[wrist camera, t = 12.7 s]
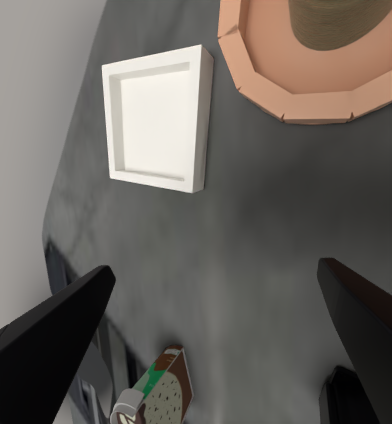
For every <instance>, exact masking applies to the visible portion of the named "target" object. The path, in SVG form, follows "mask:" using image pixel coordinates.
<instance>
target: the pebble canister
mask: <svg viewBox="0 0 392 424" xmlns="http://www.w3.org/2000/svg"><path fill="white" fill-rule="evenodd" d="M288 5H289V15H290V24H291V28H292V31H293V34H294V36H295V37H296V39H297V40H298V41H299V42H300V43H301V44H302V45H304V46H305V47H307V48H309V49H312V50H316V51H330V50H335V49H339V48H342V47H345V46H347V45H349V44H351V43H353V42H355V41H357V40H359V39H360V38H362V37H363V36H365V35H366V34H368V33H369V32H370V31H371V30H373V29H374V28H375V27H376V26H377V25H378V24H379V23H380V22H381V21H382V20H383V19H384V18H385V17H386V16H387V15H388V14H389V12H390V11H391V10H392V0H288Z"/></svg>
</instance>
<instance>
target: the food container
mask: <svg viewBox="0 0 392 424" xmlns="http://www.w3.org/2000/svg"><path fill="white" fill-rule="evenodd" d="M193 397H194V392H193V388H192V383H191V379H190V374H189V370H188V365H187V361H186V356H185V352H184V347H182V346H179V345H171V346H169V347H167V348H166V349H165V350H164V351H163V353H162V354H161V355H160V356H159V357H158V359H157V360H156V361H155V362H154V363H153V364H152V366H151V367H150V368H149V369H148V370H147V372H146V373H145V374H144V375H143V376H142V377H141V379H140V380H139V381H138V382H137V383H136V384H135V386H134V387H133V388H132V389H126V390H124V391H123V392H122V393H121V395H120V397H119V399H118V401H117V402H116V404H115V406H114V409H113V413H112V414H111V417H110V423H111V424H183V422H184V419H185V417H186V414H187V412H188V409H189V407H190V404H191V402H192V400H193Z"/></svg>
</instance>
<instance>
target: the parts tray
mask: <svg viewBox="0 0 392 424" xmlns="http://www.w3.org/2000/svg"><path fill="white" fill-rule="evenodd" d="M213 65H214V58H213V57H212V56H211V55H210V54H209V53H208V51H207V50H206V49H205V48H204V47H203V46H202V45H197V46H192V47H188V48H183V49H178V50H173V51H168V52H164V53H159V54H154V55H149V56H144V57H140V58H135V59H130V60H125V61H120V62H116V63H111V64H106V65H102V75H103V88H104V102H105V116H106V129H107V143H108V157H109V170H110V178H113V179H118V180H124V181H129V182H135V183H140V184H145V185H151V186H156V187H162V188H167V189H173V190H178V191H184V192H189V193H194V192H197V191H201V190H204V178H205V165H206V153H207V140H208V128H209V115H210V103H211V90H212V77H213Z"/></svg>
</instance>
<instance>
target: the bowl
mask: <svg viewBox="0 0 392 424" xmlns="http://www.w3.org/2000/svg"><path fill="white" fill-rule="evenodd" d="M218 38H219V40H218V41H219V44H220V47H221V49H222V52H223V54H224V57H225V59H226V62H227V65H228V67H229V70H230V72H231V75H232V78H233V80H234V83H235V85H236V88H237V90H238V91H239V92H240V93H241V94H242V95H243V96H244V97H245V98H246V99H248V100H249V101H251V102H252V103H254V104H255V105H257V106H258V107H259V108H260V109H262V110H263V111H264V112H266V113H267V114H269V115H271V116H273V117H275V118H277V119H278V120H280V121H281V122H283V121H284V122H285V123H295V124H302V125H324V124H332V123H345V122H346V121H347V120H348V122H350V121H352V120H354V119H356V118H359V117H361V116H363V115H366V114H368V113H371V112H373V111H376V110H379V109H381V108H383V107H385V106H387V105H389V104H391V103H392V10H391V11H390V12H389V14H388V15H387V16H386V17H385V18H384V19H383V20H382V21H381V22H380V23H379V24H378V25H377V26H376V27H375V28H374V29H373V30H371V31H370V32H369V33H368V34H366V35H365V36H363V37H362V38H360V39H359V40H357V41H355V42H353V43H351V44H349V45H347V46H345V47H342V48H339V49H335V50H330V51H316V50H312V49H309V48H307V47H305V46H304V45H302V44H301V43H300V42H299V41H298V40H297V39H296V37H295V36H294V34H293V31H292V28H291V24H290V15H289V5H288V0H221V3H220V15H219V27H218Z"/></svg>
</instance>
